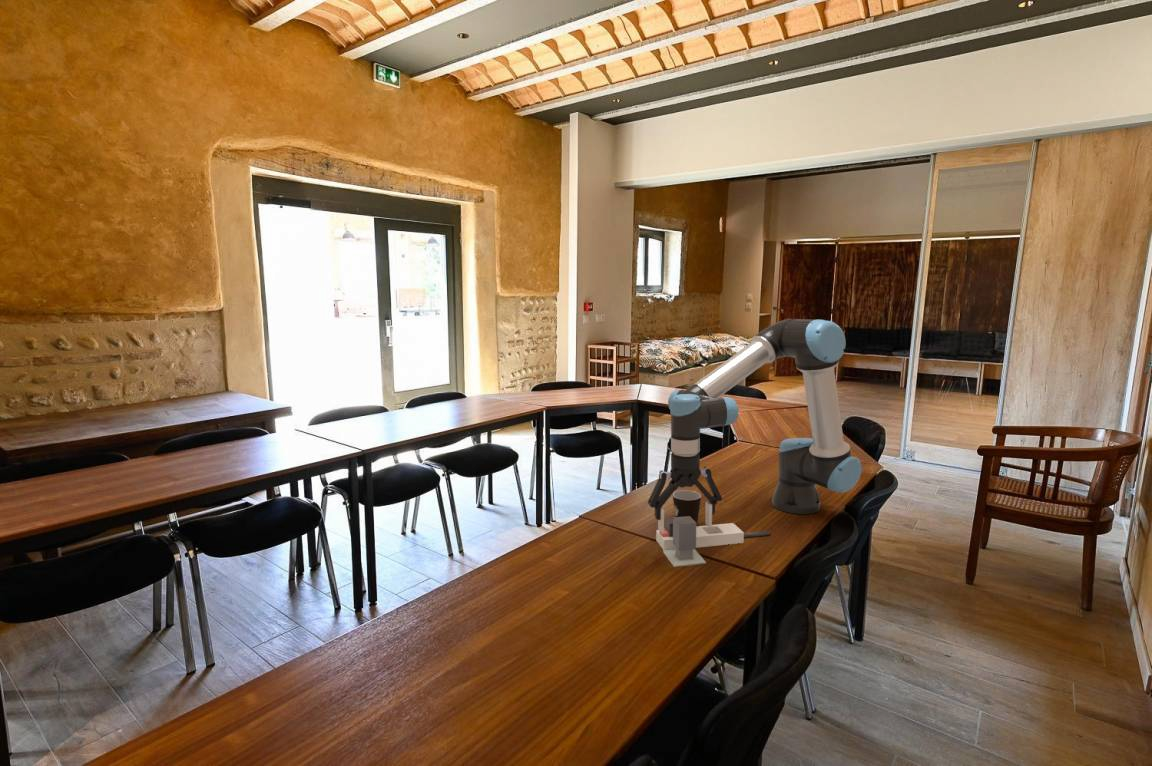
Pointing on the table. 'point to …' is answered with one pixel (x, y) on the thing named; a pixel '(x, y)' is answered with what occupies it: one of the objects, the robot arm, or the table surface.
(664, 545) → the strip
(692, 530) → the block
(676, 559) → the pad
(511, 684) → the table surface
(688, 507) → the coffee mug
